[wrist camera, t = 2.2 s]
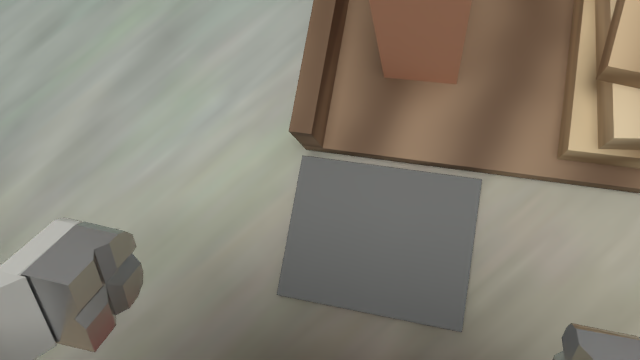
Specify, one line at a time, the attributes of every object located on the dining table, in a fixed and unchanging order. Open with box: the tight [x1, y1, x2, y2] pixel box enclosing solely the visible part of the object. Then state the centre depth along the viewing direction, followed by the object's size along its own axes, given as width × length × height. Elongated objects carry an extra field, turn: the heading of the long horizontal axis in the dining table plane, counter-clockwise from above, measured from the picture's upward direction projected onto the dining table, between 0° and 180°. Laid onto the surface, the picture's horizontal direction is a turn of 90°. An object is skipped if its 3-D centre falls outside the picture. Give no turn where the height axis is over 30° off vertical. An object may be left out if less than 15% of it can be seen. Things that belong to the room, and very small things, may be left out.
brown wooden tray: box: [289, 0, 640, 193], centre depth 26 cm, size 21×13×4 cm, turn 80°
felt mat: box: [277, 155, 482, 332], centre depth 27 cm, size 10×8×1 cm
